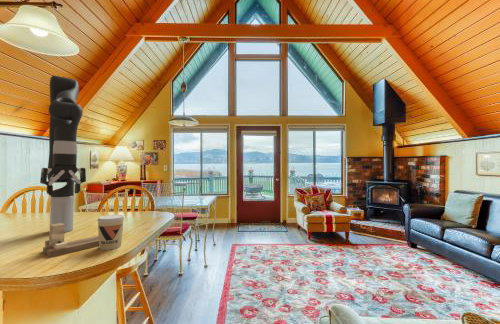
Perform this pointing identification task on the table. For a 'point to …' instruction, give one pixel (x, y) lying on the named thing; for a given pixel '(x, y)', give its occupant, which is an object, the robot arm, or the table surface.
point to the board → (72, 246)
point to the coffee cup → (110, 231)
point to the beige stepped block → (56, 236)
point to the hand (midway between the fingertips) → (63, 194)
